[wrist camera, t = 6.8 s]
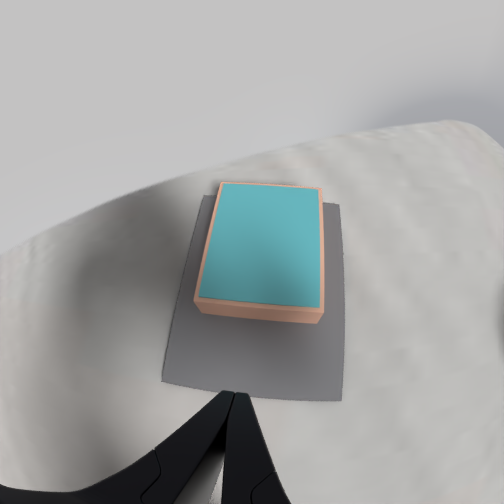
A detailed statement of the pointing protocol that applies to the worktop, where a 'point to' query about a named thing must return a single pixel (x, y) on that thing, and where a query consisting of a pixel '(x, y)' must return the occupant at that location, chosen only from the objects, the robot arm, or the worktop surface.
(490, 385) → the worktop surface
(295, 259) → the pink and teal block
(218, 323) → the mat
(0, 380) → the worktop surface
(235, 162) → the worktop surface
